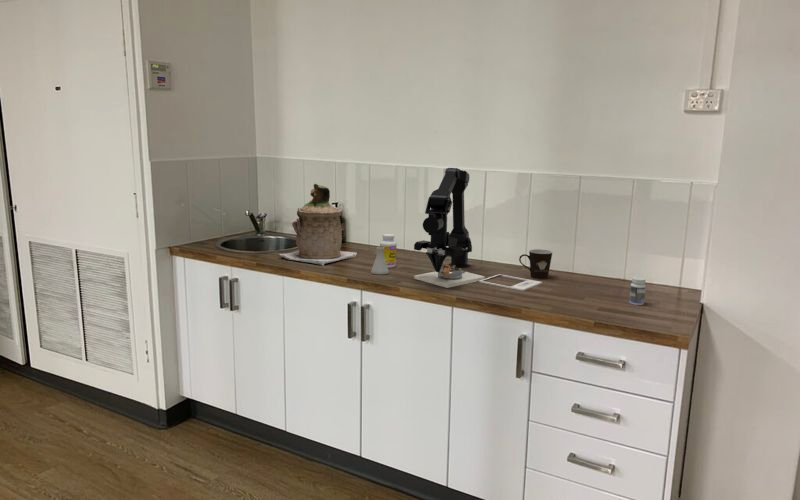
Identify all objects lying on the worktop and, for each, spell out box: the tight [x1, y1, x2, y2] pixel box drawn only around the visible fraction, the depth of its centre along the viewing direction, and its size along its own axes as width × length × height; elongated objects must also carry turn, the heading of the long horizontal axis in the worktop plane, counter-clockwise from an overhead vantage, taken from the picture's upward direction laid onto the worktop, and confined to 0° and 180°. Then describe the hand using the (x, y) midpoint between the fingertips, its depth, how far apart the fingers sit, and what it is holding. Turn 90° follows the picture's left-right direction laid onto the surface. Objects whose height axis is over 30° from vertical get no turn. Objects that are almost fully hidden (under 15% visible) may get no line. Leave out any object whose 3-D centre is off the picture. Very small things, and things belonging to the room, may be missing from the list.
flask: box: [370, 246, 390, 275], centre depth 237 cm, size 7×7×10 cm
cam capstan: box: [438, 264, 463, 279], centre depth 227 cm, size 16×9×6 cm, turn 164°
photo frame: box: [478, 273, 543, 292], centre depth 226 cm, size 15×1×18 cm
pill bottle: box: [628, 276, 647, 306], centre depth 201 cm, size 5×5×8 cm
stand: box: [413, 268, 486, 289], centre depth 229 cm, size 20×17×2 cm
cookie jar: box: [278, 183, 358, 267], centre depth 260 cm, size 25×25×32 cm
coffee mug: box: [518, 248, 554, 280], centre depth 235 cm, size 12×9×10 cm
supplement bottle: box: [379, 233, 398, 269], centre depth 248 cm, size 7×7×13 cm
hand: (437, 272), depth 222 cm, fingers closed
